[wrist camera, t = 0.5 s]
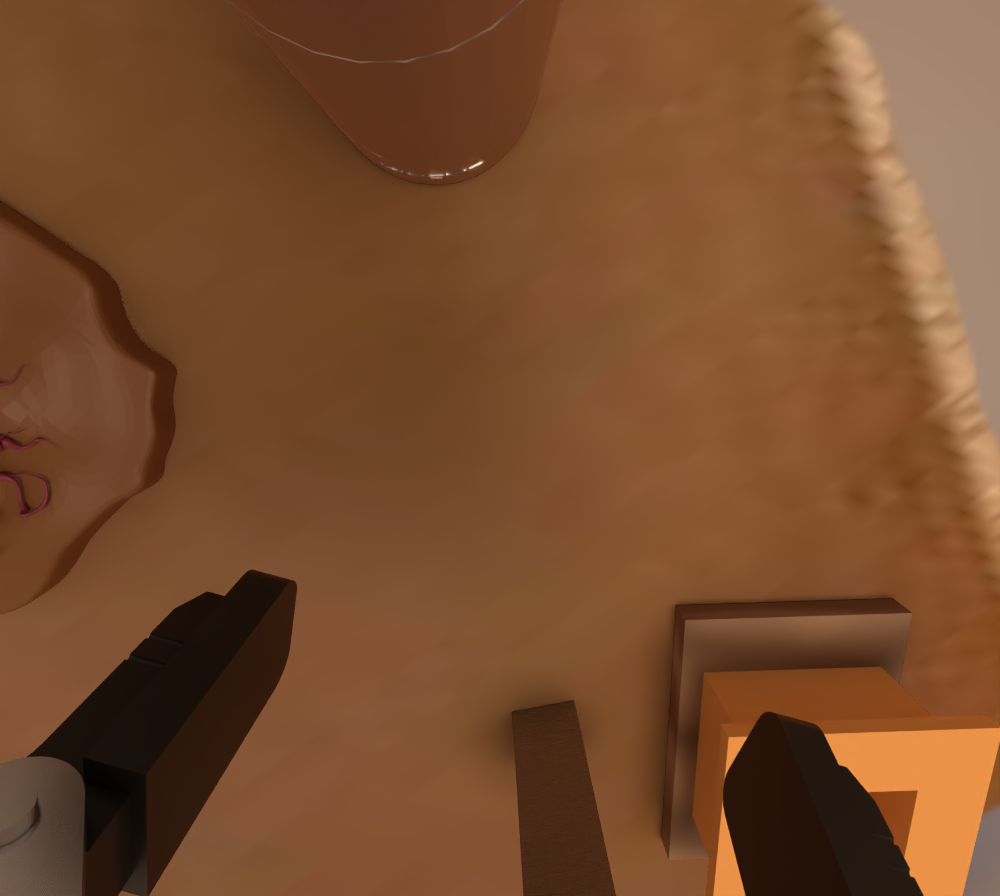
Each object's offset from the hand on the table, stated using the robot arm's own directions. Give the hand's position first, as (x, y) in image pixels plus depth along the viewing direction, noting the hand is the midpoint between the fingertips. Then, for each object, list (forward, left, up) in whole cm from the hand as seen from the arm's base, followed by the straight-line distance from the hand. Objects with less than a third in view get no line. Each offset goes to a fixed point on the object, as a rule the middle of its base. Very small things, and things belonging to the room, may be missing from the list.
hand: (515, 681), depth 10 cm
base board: (+18, +16, -20) cm, 31 cm away
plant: (-2, -26, -20) cm, 33 cm away
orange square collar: (+18, +16, -18) cm, 30 cm away
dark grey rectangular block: (+18, +3, -20) cm, 27 cm away
